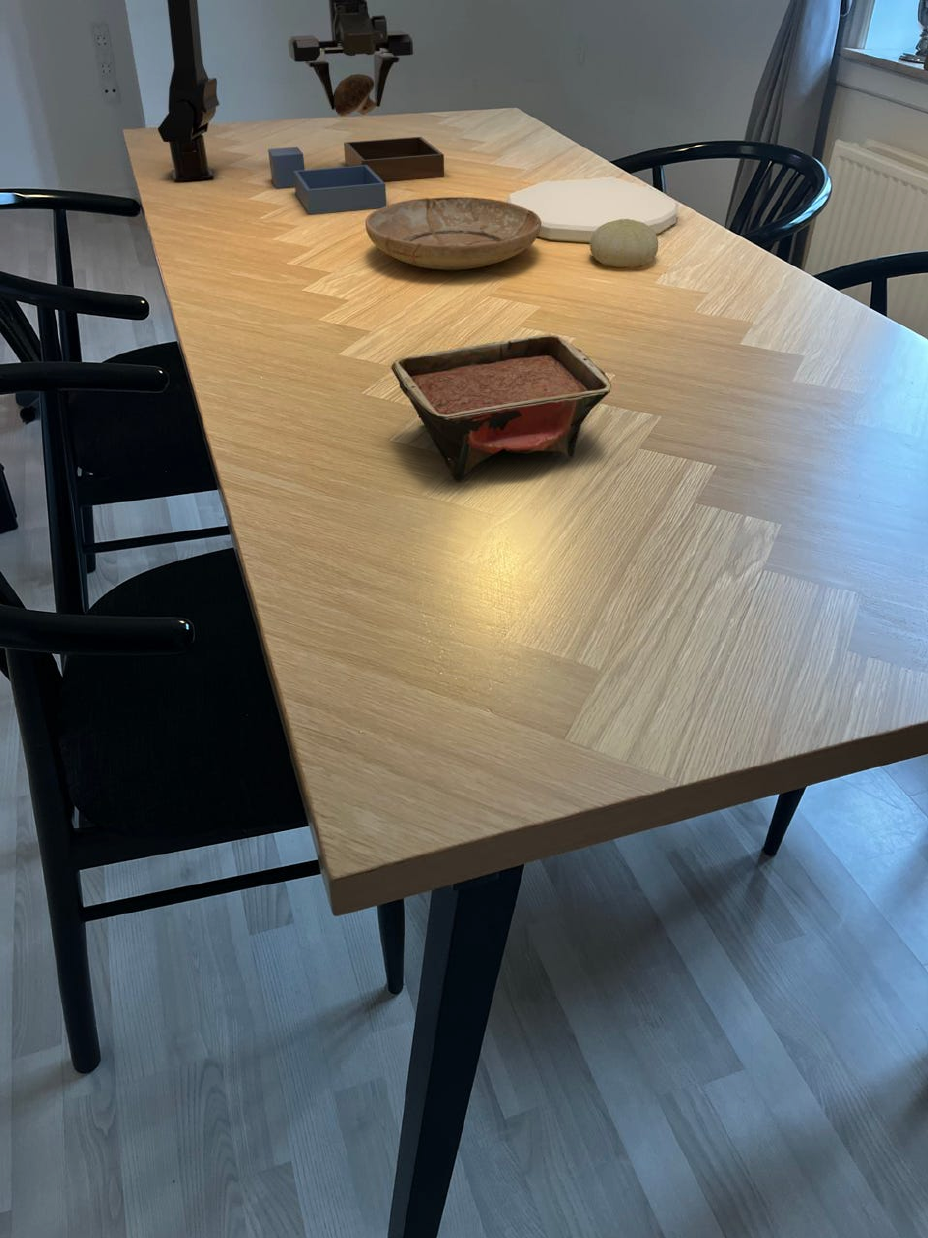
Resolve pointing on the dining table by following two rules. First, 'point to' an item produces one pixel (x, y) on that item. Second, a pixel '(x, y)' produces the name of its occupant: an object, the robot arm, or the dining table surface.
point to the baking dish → (502, 397)
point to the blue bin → (339, 189)
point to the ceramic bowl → (452, 231)
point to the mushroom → (354, 95)
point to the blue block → (285, 165)
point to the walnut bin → (396, 158)
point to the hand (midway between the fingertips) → (355, 107)
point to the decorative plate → (593, 206)
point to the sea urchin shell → (624, 243)
